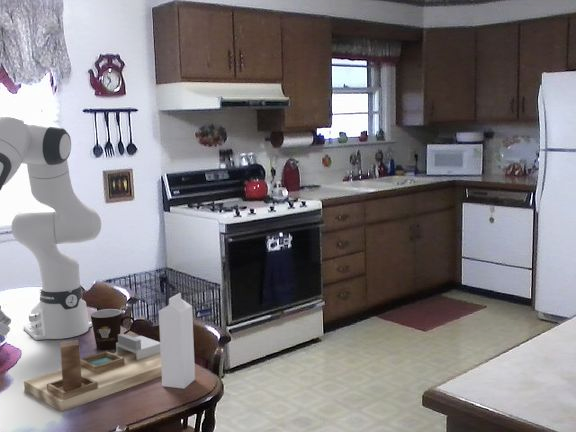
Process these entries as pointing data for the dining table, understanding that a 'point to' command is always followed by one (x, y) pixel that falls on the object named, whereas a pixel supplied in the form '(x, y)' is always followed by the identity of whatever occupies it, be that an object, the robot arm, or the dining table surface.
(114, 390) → the board
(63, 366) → the block
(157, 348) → the cover
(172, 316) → the milk
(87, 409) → the dining table surface
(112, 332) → the coffee mug
